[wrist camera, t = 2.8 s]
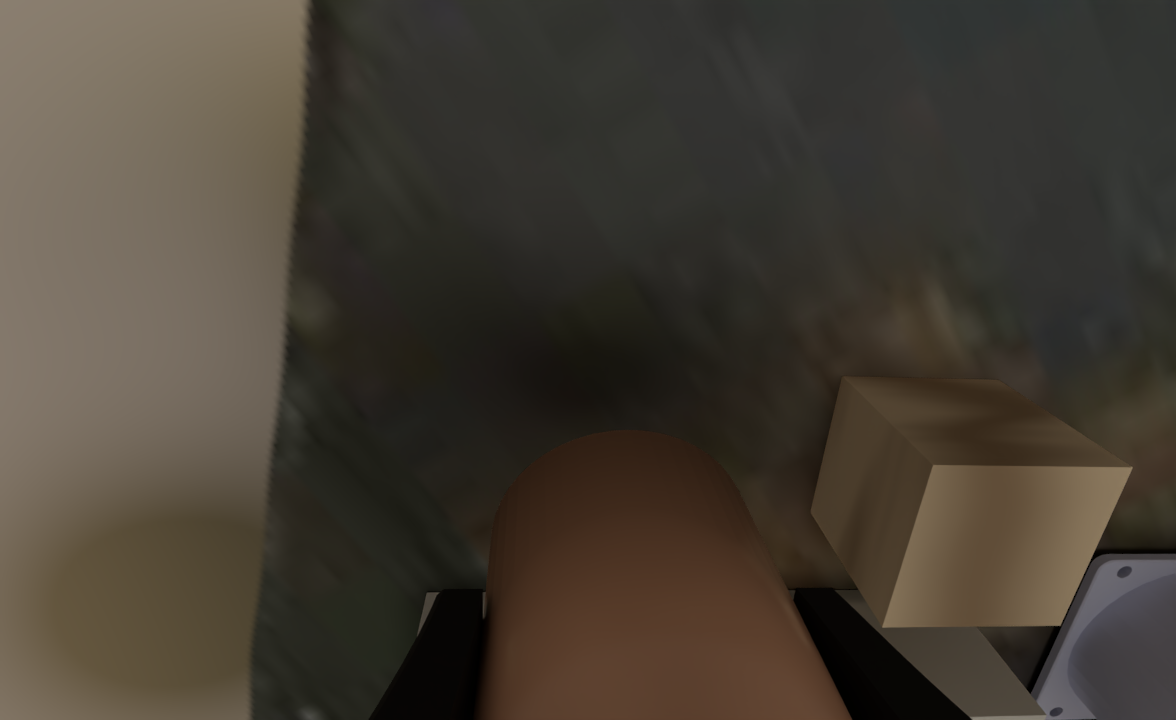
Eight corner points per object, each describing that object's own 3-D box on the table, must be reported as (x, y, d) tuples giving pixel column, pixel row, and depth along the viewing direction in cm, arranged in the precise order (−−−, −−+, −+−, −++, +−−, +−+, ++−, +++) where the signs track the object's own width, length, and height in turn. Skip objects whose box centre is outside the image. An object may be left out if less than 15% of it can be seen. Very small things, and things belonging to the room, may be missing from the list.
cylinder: (764, 430, 12) (1038, 846, 5) (728, 635, 14) (896, 1119, 7) (489, 429, 11) (427, 878, 5) (492, 640, 13) (450, 1159, 7)
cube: (996, 378, 20) (1132, 467, 15) (951, 511, 22) (1060, 625, 17) (840, 374, 19) (933, 464, 15) (809, 510, 21) (882, 627, 17)
